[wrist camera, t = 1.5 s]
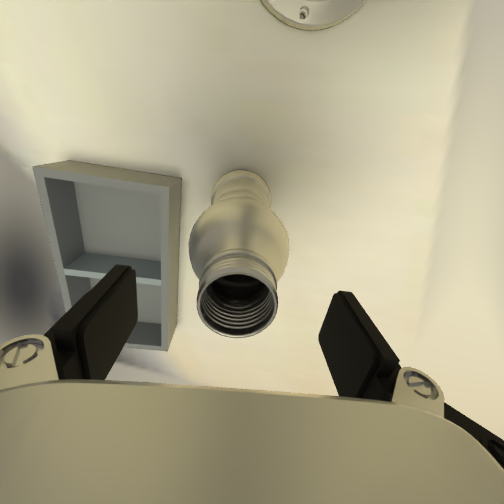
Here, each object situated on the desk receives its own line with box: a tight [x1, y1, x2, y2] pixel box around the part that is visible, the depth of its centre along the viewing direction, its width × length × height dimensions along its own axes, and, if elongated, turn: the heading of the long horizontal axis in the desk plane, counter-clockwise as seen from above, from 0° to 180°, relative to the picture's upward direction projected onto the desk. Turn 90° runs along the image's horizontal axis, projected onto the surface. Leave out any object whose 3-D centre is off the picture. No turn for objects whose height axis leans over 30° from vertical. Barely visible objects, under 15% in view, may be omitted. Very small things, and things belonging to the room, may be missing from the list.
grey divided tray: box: [32, 160, 181, 351], centre depth 29 cm, size 22×12×5 cm, turn 171°
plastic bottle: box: [189, 170, 289, 338], centre depth 19 cm, size 6×7×20 cm
